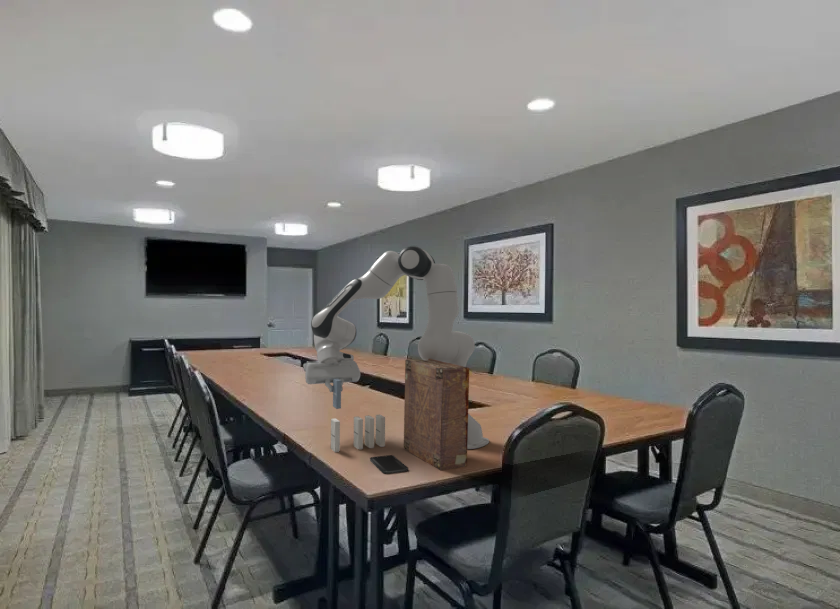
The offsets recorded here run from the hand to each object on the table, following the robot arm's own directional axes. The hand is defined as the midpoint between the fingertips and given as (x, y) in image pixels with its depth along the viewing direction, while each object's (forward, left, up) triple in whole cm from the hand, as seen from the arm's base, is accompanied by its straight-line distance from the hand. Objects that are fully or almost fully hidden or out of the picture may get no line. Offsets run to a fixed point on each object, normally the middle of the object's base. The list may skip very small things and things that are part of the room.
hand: (336, 390), depth 184 cm
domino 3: (-14, +3, -17) cm, 23 cm away
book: (-41, -3, -18) cm, 45 cm away
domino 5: (-18, -4, -17) cm, 25 cm away
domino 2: (-10, +10, -17) cm, 23 cm away
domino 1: (-1, 0, -6) cm, 6 cm away
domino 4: (-16, 0, -17) cm, 24 cm away
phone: (-35, +12, -18) cm, 41 cm away
